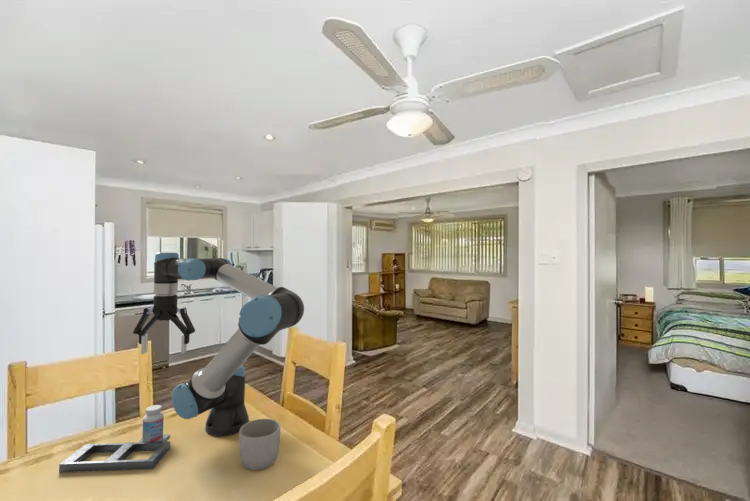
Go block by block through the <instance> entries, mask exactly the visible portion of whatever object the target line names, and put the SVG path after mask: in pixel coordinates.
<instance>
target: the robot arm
mask: <svg viewBox="0 0 750 501" xmlns="http://www.w3.org/2000/svg"><path fill="white" fill-rule="evenodd" d="M154 255H155V256H154V262H153V269H154V270H153V272H154V274H153V282H154V283H153V295H154V296H153V304H152V305H153V308H152V307H149V306H148V307H145V308H143V311H142V315H141V317H140V319H139V320H138V322H137V323H136V326H135V328H134V330H133V331H132V332H133V334H134V335H138V344H139V345H140V346H141V347H140V348H141V350H140V355H144V354H146V353H148V347H149V346H148V342H149V341H148V338H149V334H148V333H147V332H148V331H149V330H151V328H152V327H153V326H154V325H155V324H156V322H157V321H166V322H167V321H171V322H172V323H173V324H174V325H175V326H176V327H177V328H178V330H180V332H181V333H182V335H181V343H180V344H181V347H180V349H181V351H180V352H181V353H180V355H184V354H185V353H187V352H188V351H187V348H188V346H187V345H188V344H189V343H190V336H191V334H194V333H195V332H196V329H195V327H194V324H193V323H192V321H191V318H190V316H189V315H188V311H187V310H188V309H187V307H186V306H185V307H181V308H178V295H177V294H178V292H179V290H178V288H179V283H178V282H179V280H185V281H198V280H203V279H213V280H215V281H217V282H219V283H222V284H224V285H225V286H227V287H229V288H231V289H233V290H235V291H237V292H239V293H240V294H243V295H244V296H246V297H247V298H250V299H249V300H247V301H246V302H245V303H244V304H243V305H242V307H241V308H240V311H239V316H240V317H238V323H237V326H238V329H237V330H236V331H235V332H234V333H233V334H232V335H231V337H230V338H229V339H228V340H227V342H225V344H224V345H223V346H222V347H221V349H219V351H218V352H217V353H216V354H215V355H214V357H213V358H212V359H211V360H210V361H209V363H207V365H206V366H205V367H202V368H200V369H198V370H196V371H195V372H194V373H193V374H192V375H191V377H190V378H189V379H188V380H187V381H185V382H183V383H179V384H177V385H176V386H175V387H174V388H173V390H172V392H171V402H172V403H171V404H172V408H173V410H174V412H175V413H176V414H177V415H178V417H180V418H182V419H183V420H191V419H192V418H193V419H194V418H196V417H198V416H199V415H201V414H203V413H206V412H207V411H209V413H208V416H207V419H206V421H205V428H204V430H205V432H206V433H207V434H208V435H209V436H213V437H225V436H226V437H227V436H231V435H235V434H239V430H240V428H241V427H242V426H243V425H244V424H246V423H248V422H250V417H249V414H248V411H247V408H246V404H245V398H246V397H245V394H246V392H245V391H246V377H247V376H246V368H245V366H244V365H243V364H245V362H246V361H247V360H248V359H249V358H250V356H251V355H253V353H254V352H255V351H256V350H257V348H259V346H264V345H267V344H268V343H269V342H271V340H272V339H273V338H274V337H275V335H277V334H278V333H279V332H280V331H283V330H285V329H289V328H292V327H294V326H296V325H297V324H299V322H300V321H302V318H303V316H304V313H305V305H304V301H303V299H302V298H301V297H300V296H299V295H298V294H297V293H296V292H293V290H289V289H288V288H286V287H284V286H279V287H277V286H275V285H273V284H271V283H269V282H267V281H265V280H263V279H260V278H258V277H257V276H254V275H253V274H250V273H248V272H246V271H244V270H242V269H240V268H238V267H237V266H234V265H233V264H232V262H231V261H230V260H229V259H228V258H222V257H216V258H215V257H212V258H208V257H207V258H198V257H197V258H195V257H194V258H191V257H189V258H184V257H183V258H181V257H180V256H179V255H180V254H179V252H167V251H166V252H164V251H163V252H159V251H158V252H156V254H154ZM152 313H153V315H154V316H152V318H151V319H150V320H149V322H147V321H148V319H149V317H150V315H151V314H152ZM177 314H180V317H181V319H182V321H181V320H180V317H179V316H178V315H177ZM146 322H147V323H146ZM145 324H146V325H145Z"/></svg>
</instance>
